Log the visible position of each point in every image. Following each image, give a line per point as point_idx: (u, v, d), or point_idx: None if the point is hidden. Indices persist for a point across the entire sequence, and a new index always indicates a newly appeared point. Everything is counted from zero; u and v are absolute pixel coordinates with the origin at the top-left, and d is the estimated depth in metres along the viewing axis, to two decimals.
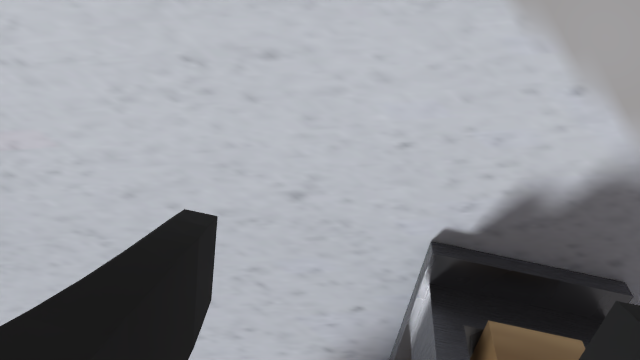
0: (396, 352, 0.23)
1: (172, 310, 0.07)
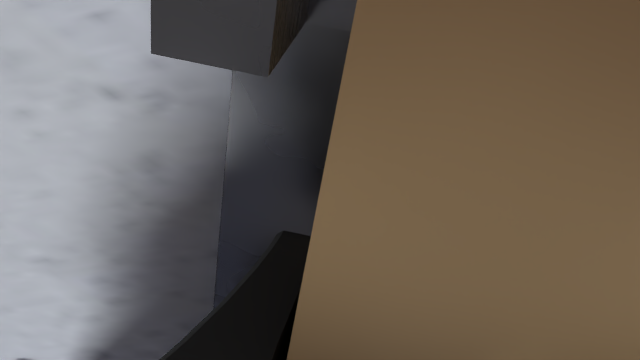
0: None
1: (289, 335, 0.07)
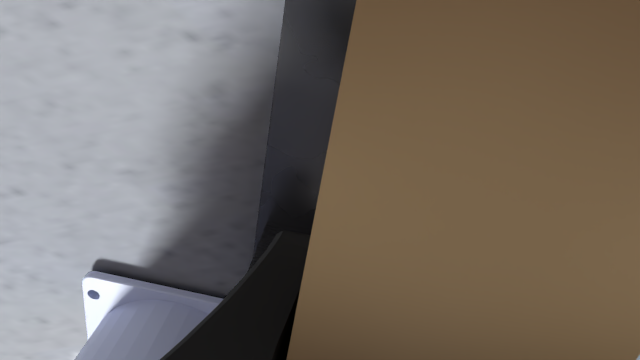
0: (285, 4, 0.14)
1: (289, 335, 0.07)
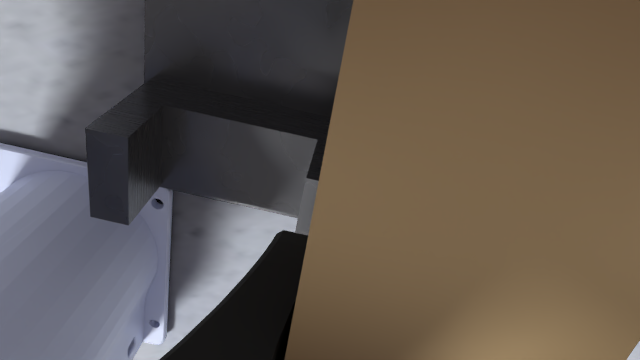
0: None
1: None
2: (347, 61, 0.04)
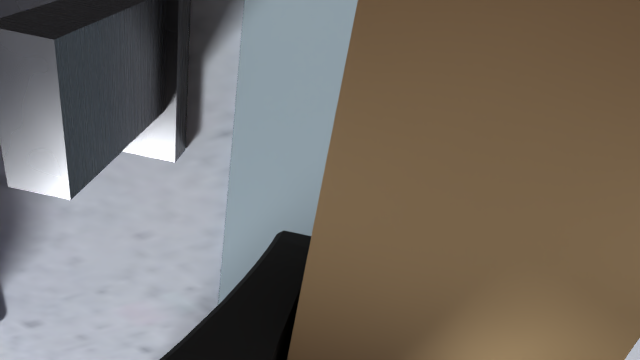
0: None
1: (289, 335, 0.07)
2: (350, 63, 0.04)
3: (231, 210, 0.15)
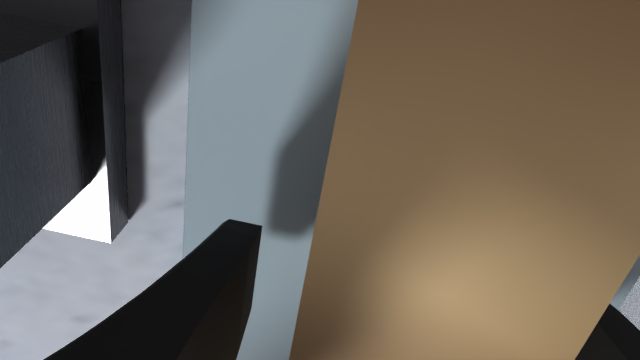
0: None
1: (225, 321, 0.07)
2: (354, 45, 0.05)
3: None
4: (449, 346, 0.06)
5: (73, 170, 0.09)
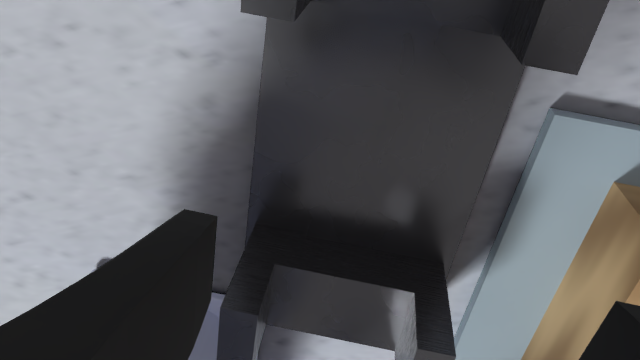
0: (267, 26, 0.16)
1: (172, 310, 0.07)
2: None
3: None
4: None
5: None
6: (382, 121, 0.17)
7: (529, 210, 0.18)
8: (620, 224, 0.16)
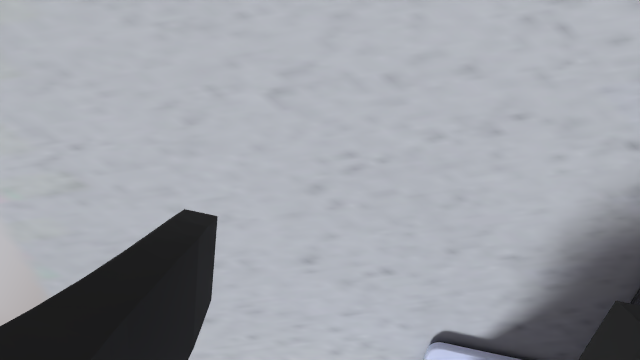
0: None
1: (172, 310, 0.07)
2: None
3: None
4: None
5: None
6: None
7: None
8: None
